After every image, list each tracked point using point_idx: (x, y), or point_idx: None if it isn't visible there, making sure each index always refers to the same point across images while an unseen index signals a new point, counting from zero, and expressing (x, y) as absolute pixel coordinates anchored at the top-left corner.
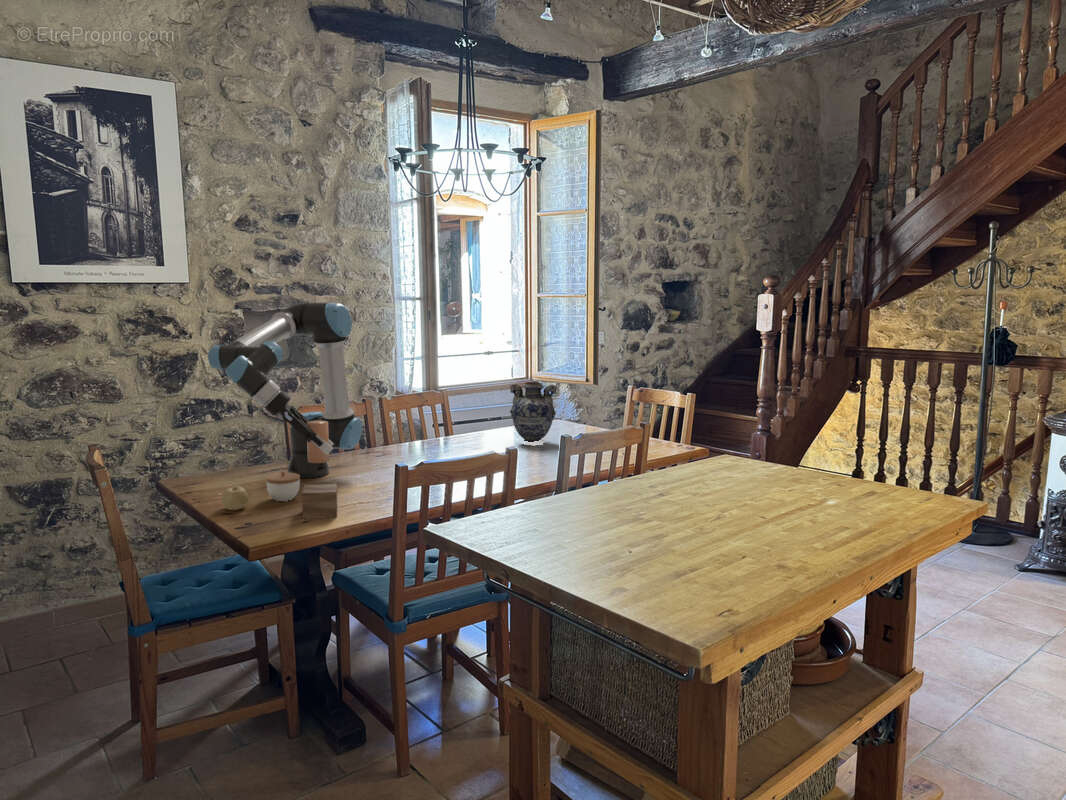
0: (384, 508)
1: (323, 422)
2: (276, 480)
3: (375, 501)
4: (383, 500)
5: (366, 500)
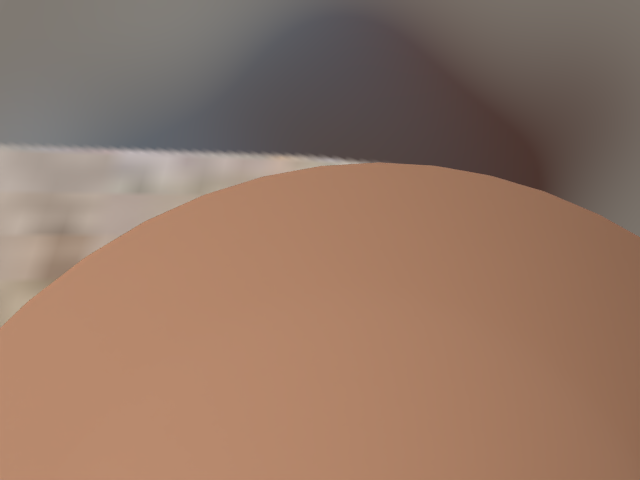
0: (210, 155)
1: (485, 345)
2: None
3: (54, 195)
4: (45, 155)
5: (14, 244)
